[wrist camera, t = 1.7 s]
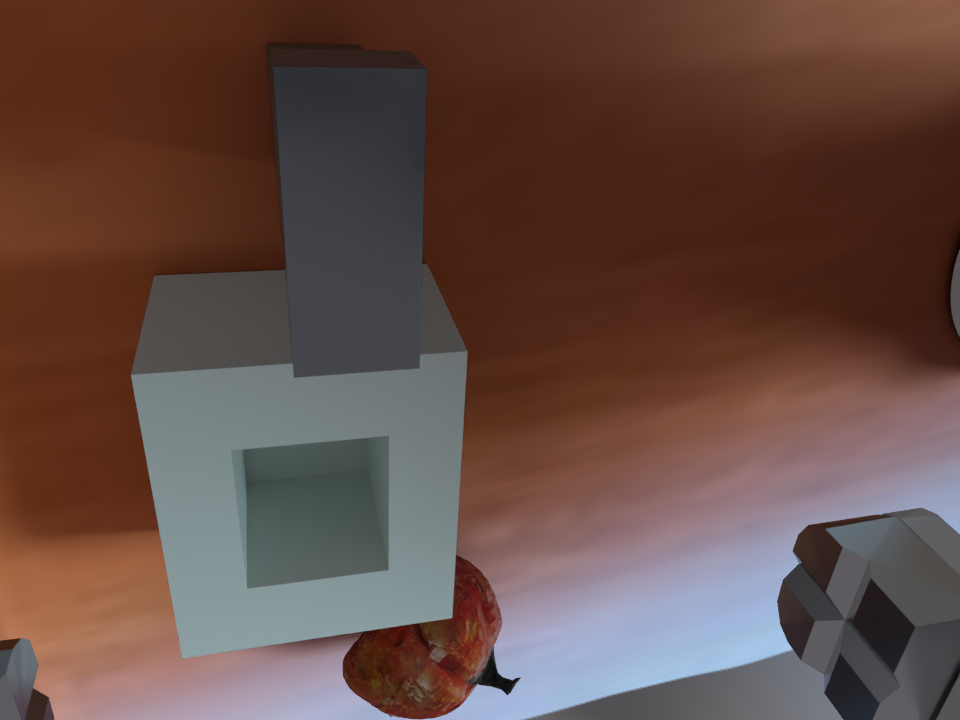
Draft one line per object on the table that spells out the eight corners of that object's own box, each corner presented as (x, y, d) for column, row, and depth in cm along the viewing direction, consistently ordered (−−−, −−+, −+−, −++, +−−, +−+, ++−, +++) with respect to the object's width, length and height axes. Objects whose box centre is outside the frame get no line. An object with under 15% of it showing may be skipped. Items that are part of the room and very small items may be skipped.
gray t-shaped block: (358, -5, 26) (426, 69, 16) (361, 203, 30) (419, 368, 20) (263, -8, 26) (273, 66, 16) (277, 205, 29) (293, 377, 19)
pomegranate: (325, 598, 42) (481, 719, 41) (252, 659, 35) (437, 809, 34) (398, 485, 41) (562, 607, 39) (337, 526, 34) (534, 676, 32)
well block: (426, 263, 32) (467, 351, 26) (420, 503, 38) (452, 618, 32) (154, 275, 29) (130, 374, 23) (193, 528, 35) (182, 658, 29)
